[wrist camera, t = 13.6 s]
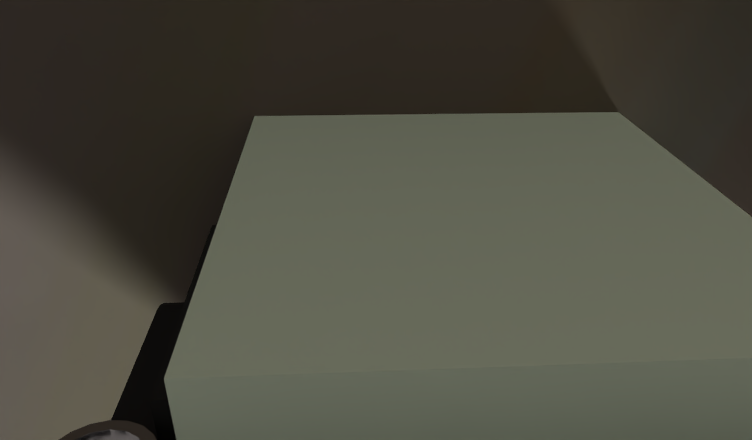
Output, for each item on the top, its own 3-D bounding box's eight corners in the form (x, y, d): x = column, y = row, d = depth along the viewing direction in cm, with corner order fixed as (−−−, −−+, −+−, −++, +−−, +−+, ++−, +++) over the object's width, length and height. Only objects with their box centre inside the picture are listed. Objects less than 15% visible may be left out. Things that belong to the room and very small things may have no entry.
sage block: (618, 111, 10) (923, 351, 5) (562, 382, 13) (717, 718, 8) (254, 115, 10) (163, 379, 5) (279, 392, 13) (241, 750, 7)
